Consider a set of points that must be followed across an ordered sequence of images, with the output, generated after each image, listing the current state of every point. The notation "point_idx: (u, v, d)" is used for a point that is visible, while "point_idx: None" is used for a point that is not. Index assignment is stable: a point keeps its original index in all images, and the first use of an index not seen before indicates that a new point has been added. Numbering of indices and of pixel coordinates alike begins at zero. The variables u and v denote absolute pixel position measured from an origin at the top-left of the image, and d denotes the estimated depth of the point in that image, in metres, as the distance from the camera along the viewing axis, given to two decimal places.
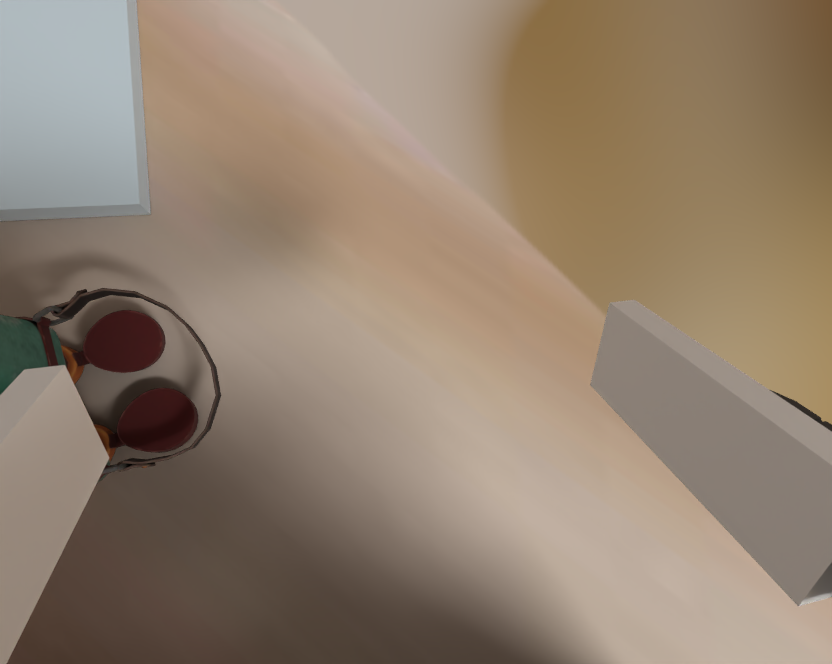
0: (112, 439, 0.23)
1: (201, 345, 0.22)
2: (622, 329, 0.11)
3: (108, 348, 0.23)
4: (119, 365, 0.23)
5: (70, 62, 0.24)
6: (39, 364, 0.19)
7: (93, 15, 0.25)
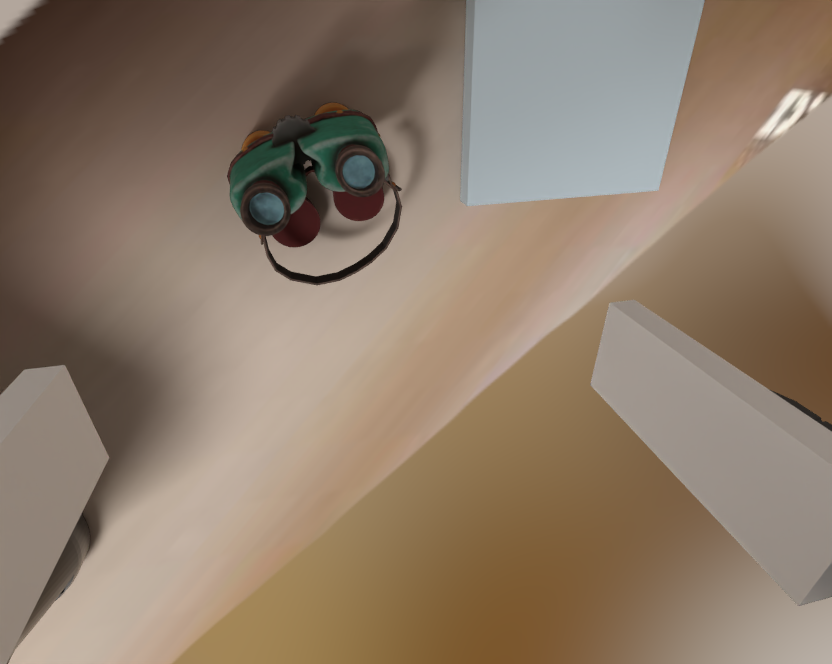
0: None
1: (355, 272, 0.29)
2: (622, 329, 0.11)
3: None
4: (339, 192, 0.28)
5: (581, 153, 0.30)
6: None
7: (613, 170, 0.32)
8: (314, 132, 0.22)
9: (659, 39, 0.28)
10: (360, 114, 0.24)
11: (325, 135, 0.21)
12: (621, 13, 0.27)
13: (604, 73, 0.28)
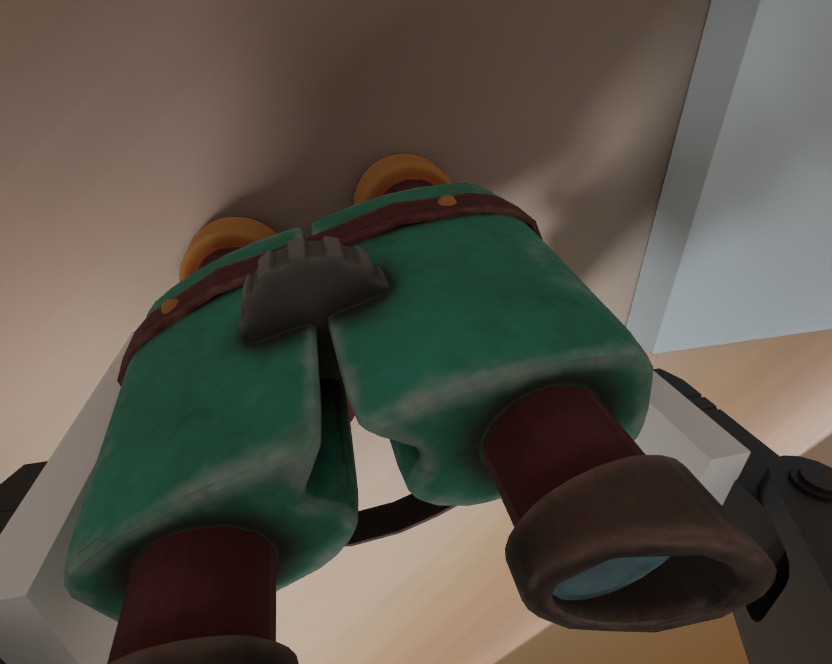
0: None
1: (434, 516, 0.13)
2: None
3: None
4: None
5: None
6: None
7: None
8: (389, 299, 0.06)
9: None
10: (507, 209, 0.08)
11: (441, 336, 0.05)
12: None
13: None
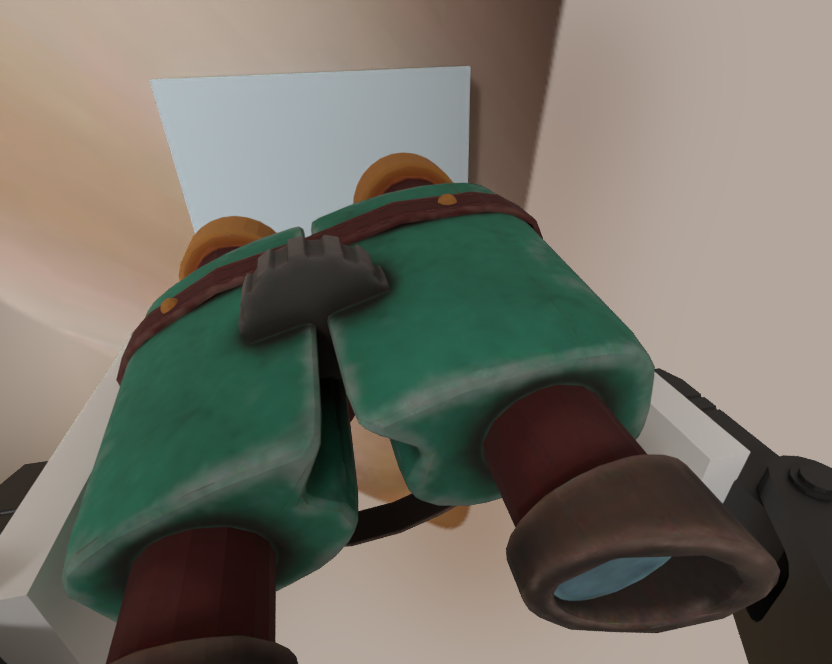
0: None
1: (435, 516, 0.13)
2: None
3: None
4: None
5: None
6: None
7: None
8: (389, 298, 0.06)
9: None
10: (508, 208, 0.08)
11: (441, 335, 0.05)
12: None
13: None
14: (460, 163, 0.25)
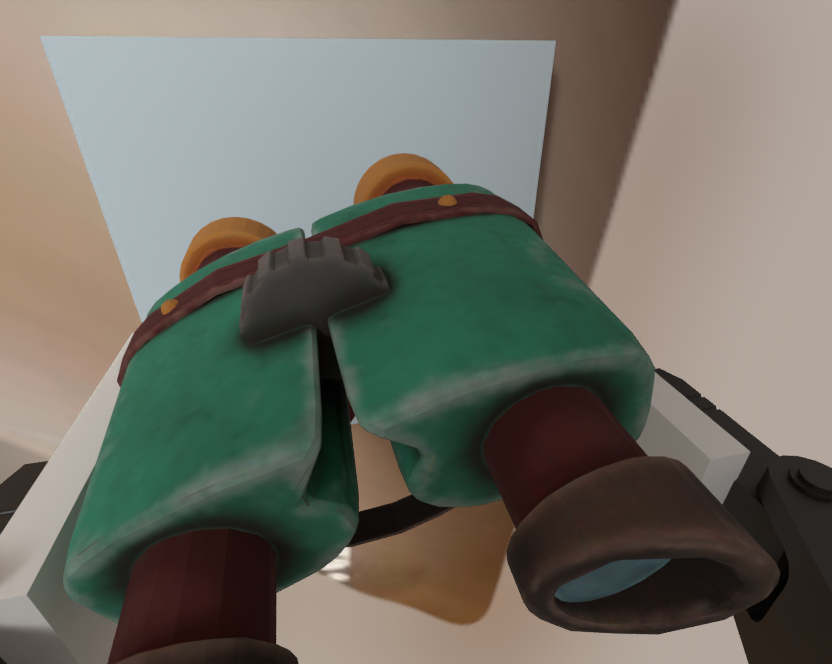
0: None
1: (435, 516, 0.13)
2: None
3: None
4: None
5: None
6: None
7: None
8: (389, 299, 0.06)
9: None
10: (508, 209, 0.08)
11: (441, 336, 0.05)
12: None
13: None
14: (526, 186, 0.17)
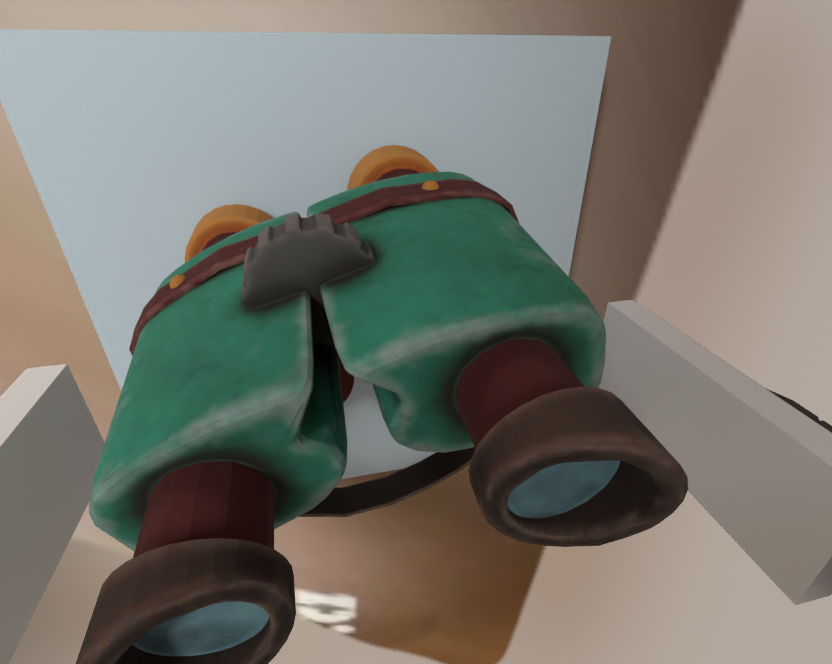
0: None
1: (424, 488, 0.14)
2: (620, 329, 0.11)
3: None
4: None
5: None
6: None
7: None
8: (374, 269, 0.07)
9: None
10: (485, 193, 0.09)
11: (418, 297, 0.06)
12: None
13: None
14: (568, 208, 0.14)
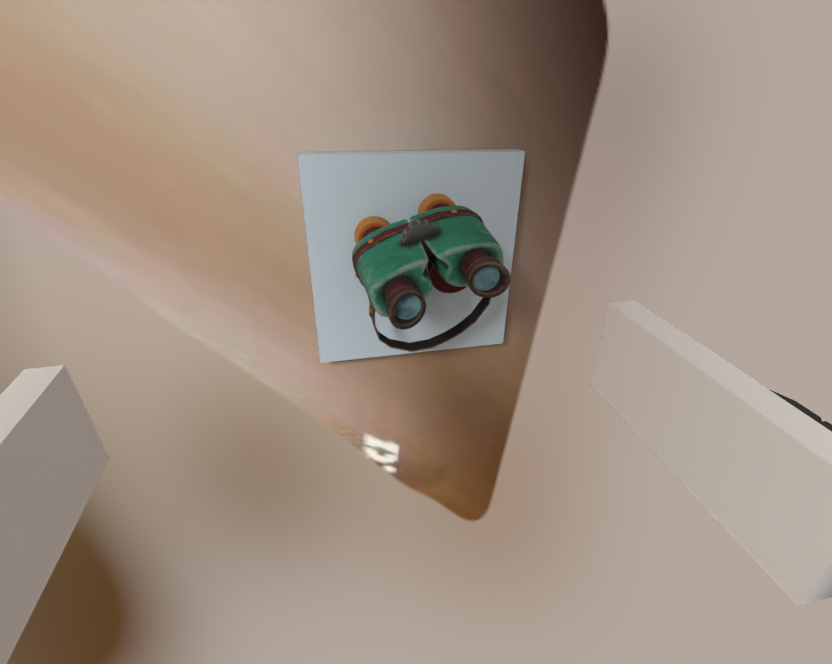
0: None
1: (446, 341, 0.32)
2: (622, 329, 0.11)
3: None
4: (436, 269, 0.31)
5: (353, 276, 0.32)
6: None
7: (338, 312, 0.33)
8: (440, 235, 0.25)
9: (440, 321, 0.35)
10: (472, 214, 0.27)
11: (453, 241, 0.24)
12: None
13: None
14: (511, 220, 0.32)
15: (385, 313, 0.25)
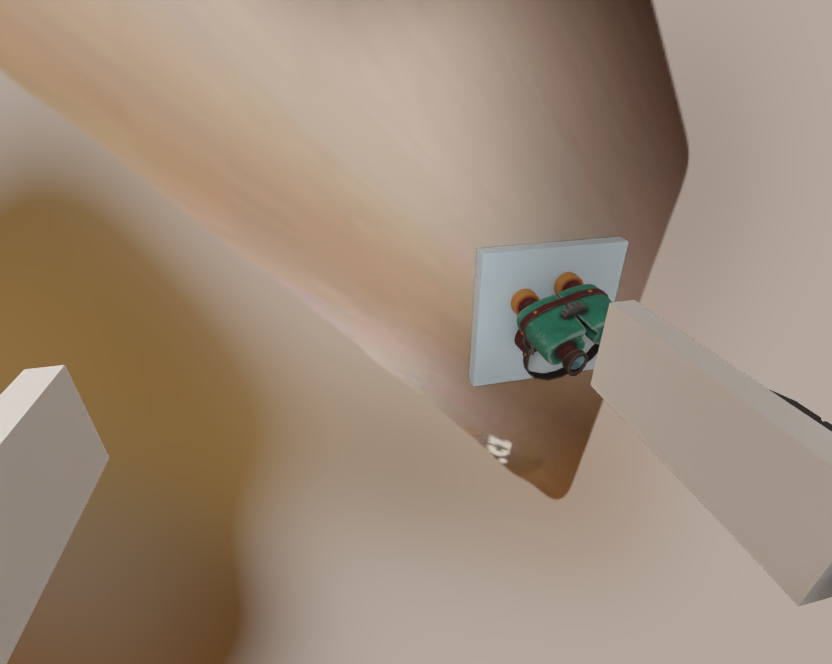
0: None
1: None
2: (622, 329, 0.11)
3: None
4: None
5: (505, 327, 0.45)
6: None
7: (491, 352, 0.46)
8: (588, 311, 0.38)
9: None
10: (602, 292, 0.40)
11: (599, 317, 0.37)
12: None
13: None
14: (614, 285, 0.46)
15: (554, 363, 0.38)
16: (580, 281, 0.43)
